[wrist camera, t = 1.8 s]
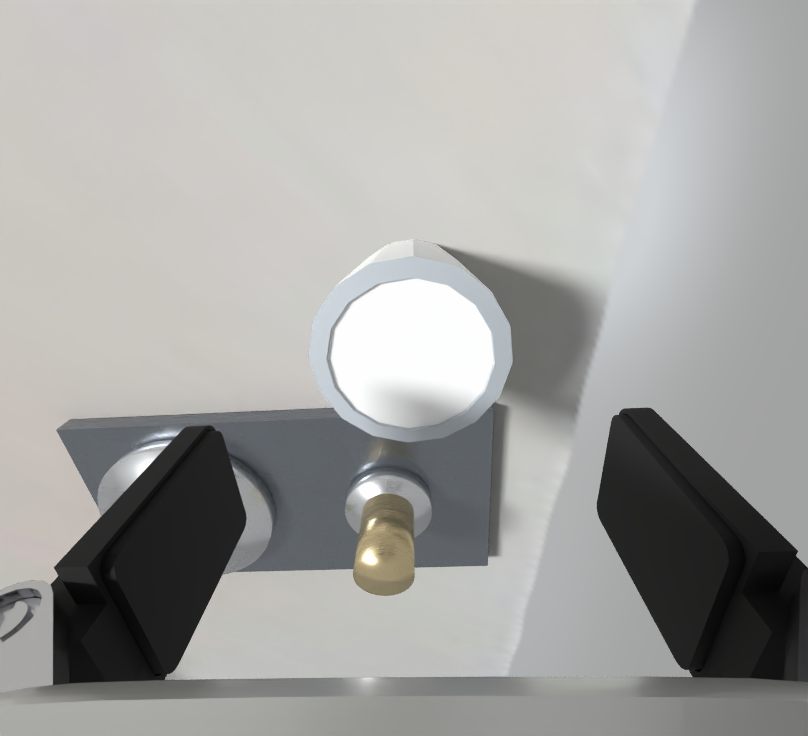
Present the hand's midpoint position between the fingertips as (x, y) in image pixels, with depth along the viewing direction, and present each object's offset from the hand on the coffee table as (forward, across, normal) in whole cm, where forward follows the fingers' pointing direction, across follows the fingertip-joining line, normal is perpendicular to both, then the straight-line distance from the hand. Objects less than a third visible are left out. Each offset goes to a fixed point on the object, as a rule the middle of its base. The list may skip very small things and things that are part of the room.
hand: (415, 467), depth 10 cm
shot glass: (+12, 0, -1) cm, 12 cm away
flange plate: (+12, +8, +11) cm, 18 cm away
